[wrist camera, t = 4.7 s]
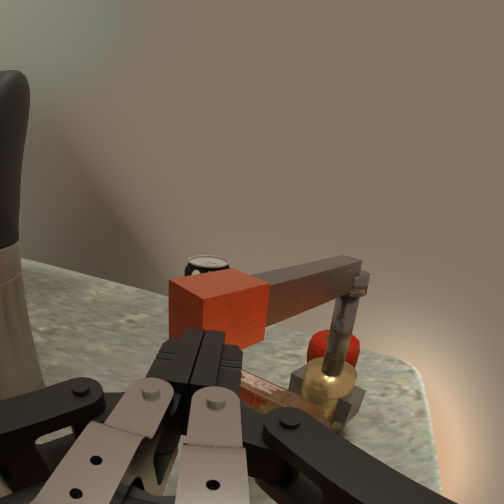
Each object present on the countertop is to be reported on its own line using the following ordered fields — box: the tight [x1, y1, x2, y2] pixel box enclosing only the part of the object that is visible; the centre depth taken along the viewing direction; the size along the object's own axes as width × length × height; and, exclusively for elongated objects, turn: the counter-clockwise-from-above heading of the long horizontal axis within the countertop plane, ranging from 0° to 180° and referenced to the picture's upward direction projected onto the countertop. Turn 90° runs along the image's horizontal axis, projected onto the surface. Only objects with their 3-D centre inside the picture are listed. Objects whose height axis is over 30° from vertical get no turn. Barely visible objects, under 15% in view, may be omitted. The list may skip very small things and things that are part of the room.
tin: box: [240, 369, 331, 429], centre depth 24 cm, size 15×3×8 cm, turn 53°
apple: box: [307, 330, 360, 368], centre depth 35 cm, size 6×6×8 cm
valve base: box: [288, 295, 366, 433], centre depth 27 cm, size 7×5×15 cm
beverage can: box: [185, 255, 230, 276], centre depth 45 cm, size 7×7×12 cm
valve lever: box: [169, 255, 370, 349], centre depth 20 cm, size 18×3×3 cm, turn 135°
